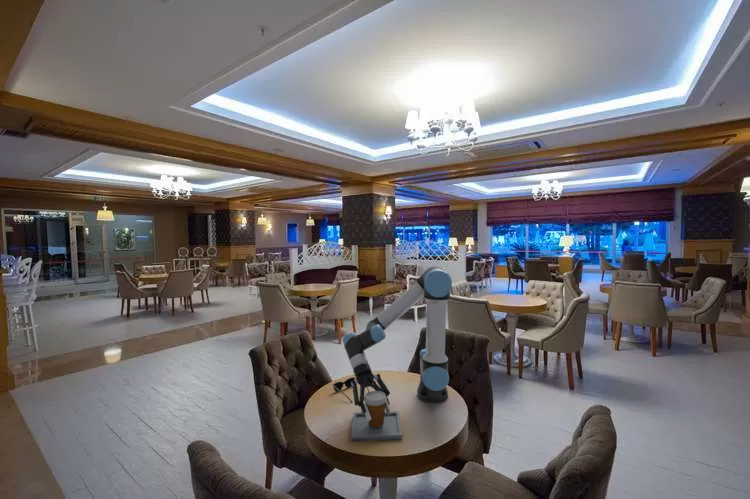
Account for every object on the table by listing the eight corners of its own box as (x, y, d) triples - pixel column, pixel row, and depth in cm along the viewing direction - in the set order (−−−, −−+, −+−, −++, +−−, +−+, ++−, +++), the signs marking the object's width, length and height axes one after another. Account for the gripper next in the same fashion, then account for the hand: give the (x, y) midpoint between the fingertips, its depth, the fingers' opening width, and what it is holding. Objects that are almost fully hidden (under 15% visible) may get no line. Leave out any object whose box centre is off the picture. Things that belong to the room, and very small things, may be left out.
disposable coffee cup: (385, 430, 142) (384, 401, 141) (362, 428, 144) (361, 400, 143) (389, 418, 151) (388, 391, 151) (367, 416, 153) (366, 389, 152)
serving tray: (398, 415, 157) (398, 411, 157) (402, 439, 138) (402, 434, 138) (353, 416, 157) (353, 412, 156) (351, 441, 138) (351, 436, 138)
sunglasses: (354, 385, 190) (354, 376, 189) (372, 397, 177) (372, 388, 177) (332, 393, 181) (332, 383, 181) (349, 406, 169) (349, 396, 168)
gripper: (378, 365, 165) (398, 413, 152) (336, 375, 154) (353, 428, 141) (384, 357, 160) (405, 406, 147) (340, 367, 150) (359, 421, 137)
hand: (379, 416), depth 144 cm, fingers closed on disposable coffee cup, 9 cm apart
